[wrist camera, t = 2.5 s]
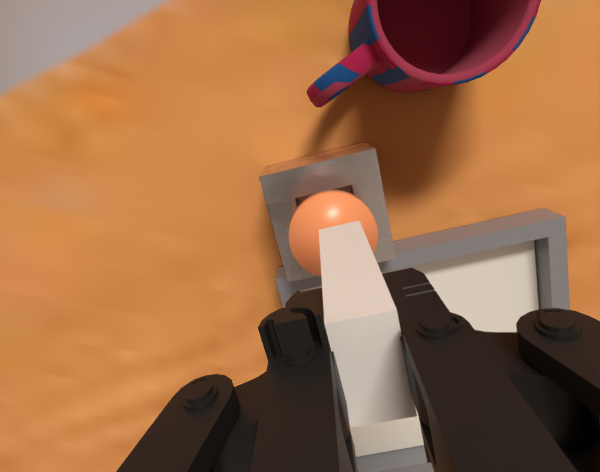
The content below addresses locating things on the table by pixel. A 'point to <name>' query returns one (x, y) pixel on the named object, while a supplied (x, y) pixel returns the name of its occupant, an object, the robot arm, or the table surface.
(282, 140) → the table surface
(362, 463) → the tray
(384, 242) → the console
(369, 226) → the button
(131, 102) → the table surface
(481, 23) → the cup
